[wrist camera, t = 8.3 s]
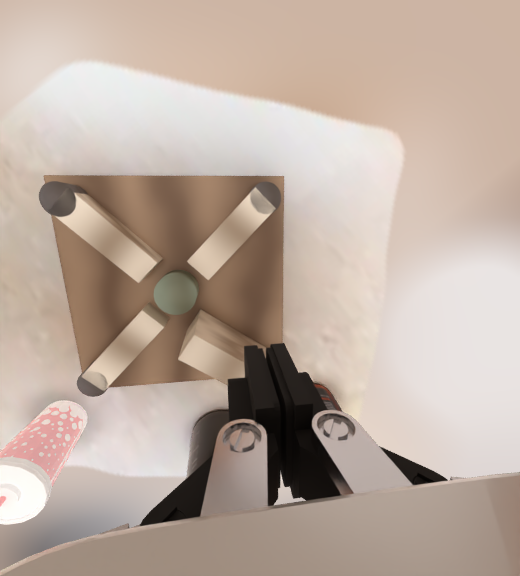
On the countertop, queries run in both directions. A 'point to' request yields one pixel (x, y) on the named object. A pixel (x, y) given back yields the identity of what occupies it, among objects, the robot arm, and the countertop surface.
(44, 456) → the beverage cup
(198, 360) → the hinged leg
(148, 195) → the stool seat
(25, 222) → the countertop surface
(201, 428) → the supplement bottle
